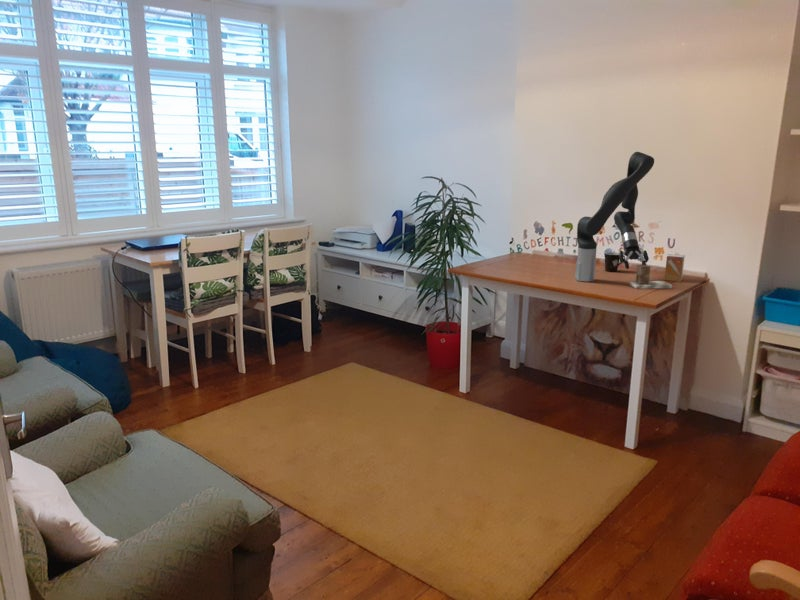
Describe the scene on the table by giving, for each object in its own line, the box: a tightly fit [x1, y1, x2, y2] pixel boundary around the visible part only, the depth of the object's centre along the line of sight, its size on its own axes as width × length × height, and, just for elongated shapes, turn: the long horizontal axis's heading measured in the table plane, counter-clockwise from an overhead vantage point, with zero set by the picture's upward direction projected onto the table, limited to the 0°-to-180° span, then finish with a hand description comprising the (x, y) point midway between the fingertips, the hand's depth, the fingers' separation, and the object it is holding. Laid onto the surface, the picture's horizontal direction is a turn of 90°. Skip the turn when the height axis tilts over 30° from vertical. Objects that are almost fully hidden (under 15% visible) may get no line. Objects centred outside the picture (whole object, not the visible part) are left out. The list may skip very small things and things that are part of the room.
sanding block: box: [635, 264, 651, 285], centre depth 312 cm, size 4×5×9 cm
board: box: [628, 280, 673, 290], centre depth 313 cm, size 18×10×2 cm, turn 91°
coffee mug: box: [604, 251, 626, 273], centre depth 349 cm, size 12×9×10 cm
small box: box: [663, 254, 686, 283], centre depth 325 cm, size 8×6×13 cm
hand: (636, 268), depth 320 cm, fingers open, 8 cm apart
